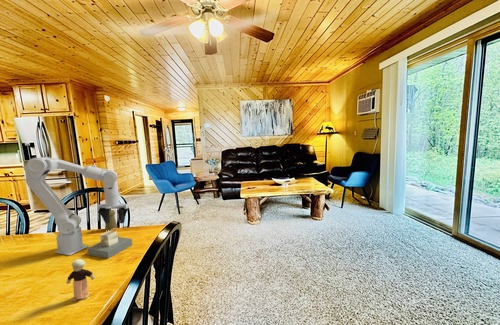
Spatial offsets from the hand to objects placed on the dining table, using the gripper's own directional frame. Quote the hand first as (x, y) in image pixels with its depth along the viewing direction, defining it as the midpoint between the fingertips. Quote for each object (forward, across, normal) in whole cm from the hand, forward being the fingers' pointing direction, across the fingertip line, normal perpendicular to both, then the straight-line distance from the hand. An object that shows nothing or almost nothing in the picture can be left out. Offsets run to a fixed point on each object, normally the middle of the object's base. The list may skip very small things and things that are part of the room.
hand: (114, 222), depth 104 cm
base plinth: (+9, +3, -8) cm, 13 cm away
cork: (+10, -13, +14) cm, 21 cm away
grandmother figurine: (+10, +15, -37) cm, 41 cm away
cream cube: (+6, +3, -8) cm, 11 cm away
